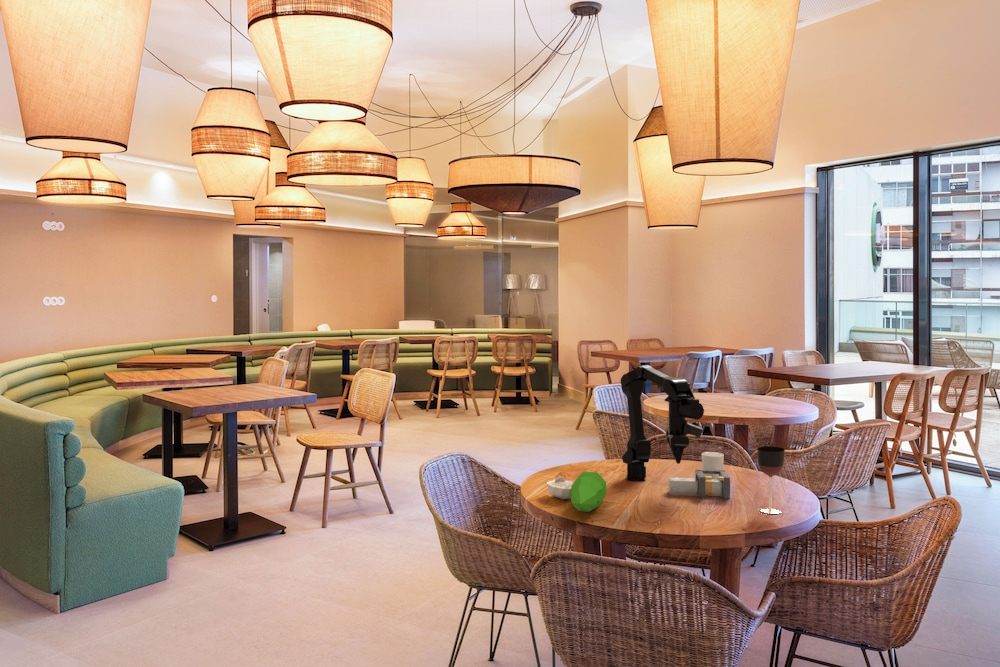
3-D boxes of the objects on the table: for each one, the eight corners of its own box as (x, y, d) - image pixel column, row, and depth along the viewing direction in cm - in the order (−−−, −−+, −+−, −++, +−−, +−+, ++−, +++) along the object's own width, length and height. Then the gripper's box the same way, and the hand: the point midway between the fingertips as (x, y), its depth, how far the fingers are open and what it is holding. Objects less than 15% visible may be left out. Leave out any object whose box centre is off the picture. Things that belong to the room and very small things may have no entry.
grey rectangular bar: (670, 494, 253) (670, 480, 253) (668, 491, 257) (669, 477, 257) (730, 496, 250) (730, 482, 250) (727, 493, 255) (727, 478, 254)
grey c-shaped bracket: (699, 498, 249) (699, 476, 248) (695, 489, 259) (695, 469, 259) (729, 498, 247) (730, 477, 247) (724, 490, 258) (724, 470, 258)
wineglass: (788, 511, 233) (789, 448, 232) (777, 517, 227) (777, 453, 226) (763, 506, 238) (764, 445, 237) (752, 512, 232) (752, 449, 231)
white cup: (726, 483, 268) (726, 456, 267) (704, 483, 268) (704, 456, 267) (720, 478, 276) (720, 451, 275) (699, 478, 276) (699, 451, 275)
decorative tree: (602, 462, 249) (590, 480, 220) (615, 494, 248) (604, 516, 219) (571, 473, 252) (555, 492, 223) (584, 504, 251) (569, 528, 222)
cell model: (554, 504, 243) (554, 483, 243) (542, 494, 254) (542, 475, 254) (583, 501, 246) (583, 481, 245) (570, 492, 257) (570, 473, 257)
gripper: (705, 420, 243) (704, 467, 244) (697, 411, 262) (697, 455, 262) (670, 420, 245) (670, 466, 245) (665, 411, 263) (665, 454, 264)
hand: (676, 460), depth 254 cm, fingers open, 9 cm apart
